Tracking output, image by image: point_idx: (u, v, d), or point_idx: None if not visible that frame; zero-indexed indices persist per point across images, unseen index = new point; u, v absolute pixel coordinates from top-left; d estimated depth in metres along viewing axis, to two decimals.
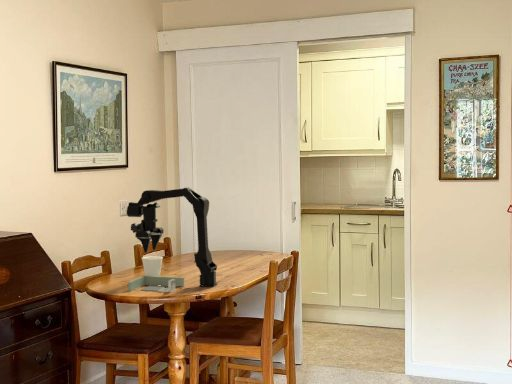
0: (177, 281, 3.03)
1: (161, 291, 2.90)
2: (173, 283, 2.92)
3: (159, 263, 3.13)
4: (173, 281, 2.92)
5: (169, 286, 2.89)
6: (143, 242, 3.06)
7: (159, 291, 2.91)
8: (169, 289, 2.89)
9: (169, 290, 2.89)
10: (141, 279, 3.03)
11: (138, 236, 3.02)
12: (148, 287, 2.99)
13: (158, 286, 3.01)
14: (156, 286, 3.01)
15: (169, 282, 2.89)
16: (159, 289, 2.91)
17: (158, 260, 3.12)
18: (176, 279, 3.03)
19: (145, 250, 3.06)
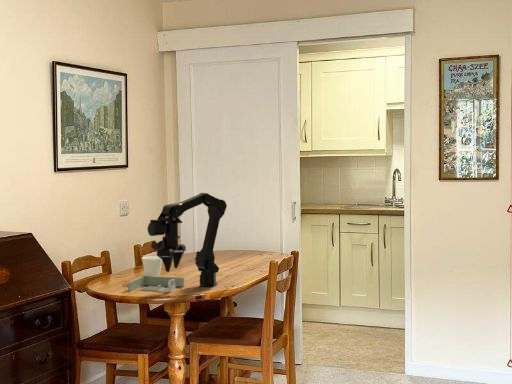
0: (177, 281, 3.03)
1: (161, 291, 2.90)
2: (173, 283, 2.92)
3: (159, 263, 3.13)
4: (173, 281, 2.92)
5: (169, 286, 2.89)
6: (165, 261, 2.86)
7: (159, 291, 2.91)
8: (169, 289, 2.89)
9: (169, 290, 2.89)
10: (141, 279, 3.03)
11: (160, 255, 2.82)
12: (148, 287, 2.99)
13: (158, 286, 3.01)
14: (156, 286, 3.01)
15: (169, 282, 2.89)
16: (159, 289, 2.91)
17: (158, 260, 3.12)
18: (176, 279, 3.03)
19: (167, 269, 2.86)
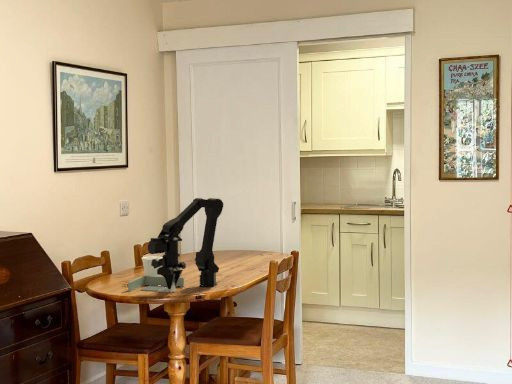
0: None
1: (161, 291, 2.90)
2: (173, 283, 2.92)
3: None
4: (173, 281, 2.92)
5: None
6: (167, 278, 2.88)
7: (159, 291, 2.91)
8: (169, 289, 2.89)
9: (169, 290, 2.89)
10: (141, 279, 3.03)
11: (160, 273, 2.83)
12: (148, 287, 2.99)
13: (158, 286, 3.01)
14: (156, 286, 3.01)
15: None
16: (159, 289, 2.91)
17: None
18: None
19: (169, 287, 2.89)
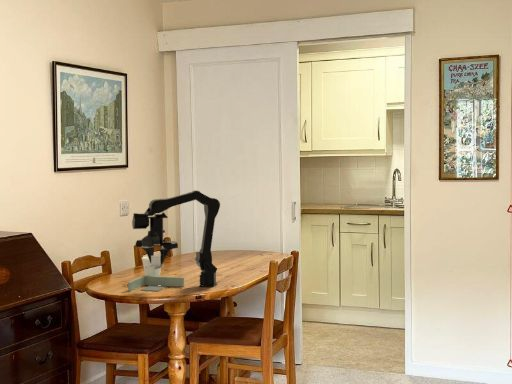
0: (177, 281, 3.03)
1: (156, 268, 2.92)
2: None
3: None
4: None
5: None
6: (163, 253, 2.94)
7: (155, 268, 2.91)
8: (161, 264, 2.95)
9: (161, 265, 2.95)
10: (141, 279, 3.03)
11: (173, 247, 2.91)
12: (148, 287, 2.99)
13: (158, 286, 3.01)
14: (156, 286, 3.01)
15: None
16: (153, 266, 2.91)
17: None
18: (176, 279, 3.03)
19: (162, 262, 2.95)
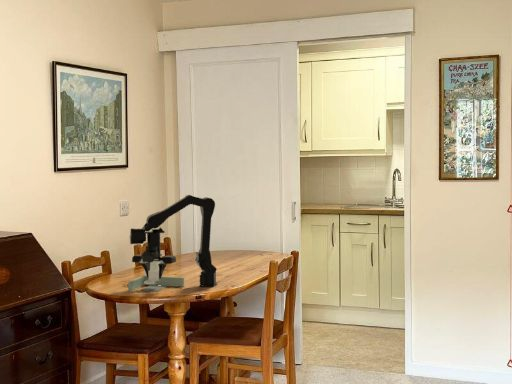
0: (177, 281, 3.03)
1: (156, 282, 2.94)
2: None
3: (159, 263, 3.13)
4: None
5: None
6: (162, 268, 2.96)
7: (155, 283, 2.93)
8: (159, 279, 2.97)
9: (159, 279, 2.97)
10: (141, 279, 3.03)
11: (172, 262, 2.94)
12: (148, 287, 2.99)
13: (158, 286, 3.01)
14: (156, 286, 3.01)
15: None
16: (153, 281, 2.93)
17: None
18: (176, 279, 3.03)
19: (160, 276, 2.97)
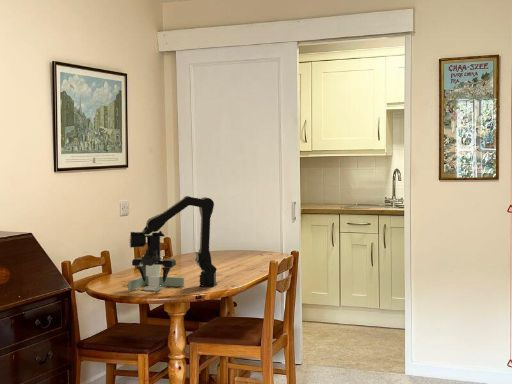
0: (177, 281, 3.03)
1: (156, 288, 2.94)
2: None
3: None
4: None
5: (159, 282, 2.97)
6: (166, 271, 2.96)
7: (155, 289, 2.93)
8: (159, 285, 2.97)
9: (159, 285, 2.97)
10: (141, 279, 3.03)
11: (172, 265, 2.94)
12: None
13: None
14: None
15: (159, 278, 2.97)
16: (153, 287, 2.93)
17: None
18: (176, 279, 3.03)
19: (164, 280, 2.97)
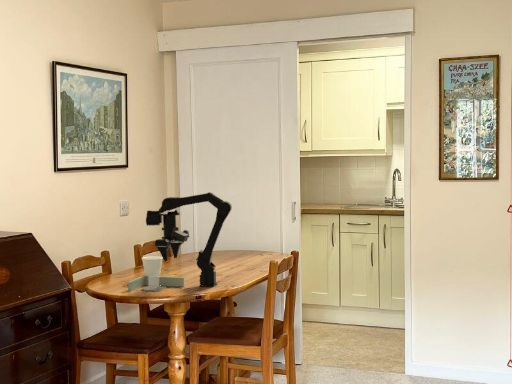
0: (177, 281, 3.03)
1: (156, 288, 2.94)
2: None
3: (159, 263, 3.13)
4: None
5: (159, 282, 2.97)
6: None
7: (155, 289, 2.93)
8: (159, 285, 2.97)
9: (159, 285, 2.97)
10: (141, 279, 3.03)
11: None
12: None
13: None
14: None
15: (159, 278, 2.97)
16: (153, 287, 2.93)
17: (158, 260, 3.12)
18: (176, 279, 3.03)
19: None
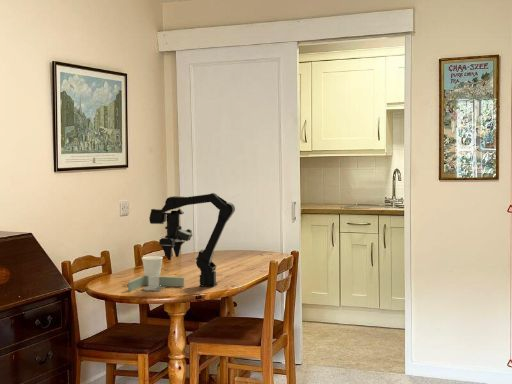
0: (177, 281, 3.03)
1: (156, 288, 2.94)
2: None
3: (159, 263, 3.13)
4: None
5: (159, 282, 2.97)
6: None
7: (155, 289, 2.93)
8: (159, 285, 2.97)
9: (159, 285, 2.97)
10: (141, 279, 3.03)
11: None
12: None
13: None
14: None
15: (159, 278, 2.97)
16: (153, 287, 2.93)
17: (158, 260, 3.12)
18: (176, 279, 3.03)
19: None
